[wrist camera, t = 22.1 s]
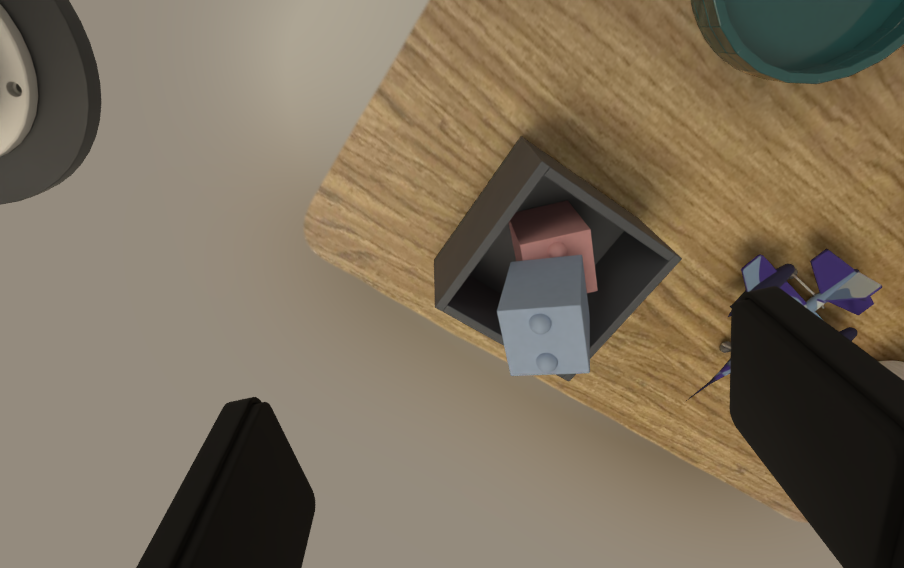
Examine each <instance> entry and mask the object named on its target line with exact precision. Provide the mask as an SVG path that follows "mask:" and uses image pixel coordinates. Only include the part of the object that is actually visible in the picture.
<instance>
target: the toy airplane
mask: <svg viewBox="0 0 904 568" xmlns="http://www.w3.org/2000/svg"><path fill="white" fill-rule="evenodd" d="M810 262H811V266H812V269H813V272H814V275H815V279H816V282H817V285H818V289H819V293H818V294H815V293H814V292H813V291H812V290H811V289H810V288H809V287H808V286H806V285H805V284H804V283H803V282H802V281H801V280H800V279H799V278H798V277H797V273H798V271H797V270H796V269H795V268H794V266H793V265H792V264H785V265H783V266H781V267H779V268H777V269H775V268H774V267H773V266H772V265H771V264H770V263H769V262H768V260H767V259H766V258H765V257H764V256H763V255H761V254H759V255H757V256H756V257H755V258H754V259H752V260H751V261H750V262H749V263H748V264H746V265H745V266H744V267H743V268H742V269H741V271H742V275H743V279H744V283H745V287H746V291H745V292H749V291H753V290H758V289H763V288H767V287H772V286H777V287H778V288H780V289H782V290H783V291H785V292H786V293H787V294H789V295H790V296H791V297H793V298H794V299H795V300H797V301H798V302H799V303H801V304H802V305H803V306H805V307H806V308H807V309H809V310H810V311H811V312H813V313H814V314H815V315H817V316H818V317H819V318H821V317H820V316H819V315H818V314H817V313H816V312H815V311H816V310H817V309H819V308H820V307H821V308H823V309H824V308H825V307H824V305H823V304H825V303H826V302H830V303H832V304H834V305H837V306H839V307H841V308H843V309H845V310H848V311H850V312H852V313H854V314H856V315H860V314H861V313H862V312H864V311H865V310H866V309H868V308H869V307H870V306H872V305H873V304H874V303H873V301H872V299H871V297H870V296H871V295H873V294H874V293H875V292H877V291H878V290H879V289H881V288H882V286H881V285H880V284H879V283H877V282H875V281H873V280H872V279H870V278H868V277H867V276H865V275H863V274H861V273H860V271H859V270H858V269H853V268H852V267H850V266H849V265H848V264H847V263H845V262H844V261H843V260H841V259H840V258H839V257H837V256H836V255H835V254H833V253H832V252H831V251H829V250H828V249H825V250H824V251H823V252H821V253H820V254H819V255H818V256H816V257H815V258H814V259H812V260H811V261H810ZM794 277H795V278H796V279H797V280H798V281H799V282H800V283H801V284H802V285H803V286H804V287H805V288H806V289H807V290H808V291H809V292H810V293H811V294H812V295H813V296H812V297H810V298H809V299H808V301H807V302H805V301H804V299H803V298H802V297H801V296H800V295H799V294H798V293H797V292H796V291H795V290H794V289H793V288H792V286H791V285H790V284H789V283H788V282H787V280H789V279H793V278H794ZM740 297H741V296H740ZM740 297H739V298H738V299H737V300H736V301H735V302H738V301H739V300H740ZM735 302H734V303H735ZM732 305H733V304H732ZM732 305H731V306H730V307H731V308H732ZM729 316H732V311H731V312H730V314H729ZM729 316H728V317H729ZM821 319H822V318H821ZM839 333H841V334H842V335H843V336H845V337H846V338H848V339H849V340H850V341H852V340H853V339H854V338H855V337H856V336H857V330H856V329H855V328H851V327H849V328H846V329H844V330H842V331H840V332H839ZM720 350H721V351H722V352H724V353H727V352H729V351H730V352H731V342H728V341H726V342H723V343H722V344H721V345H720ZM730 367H731V358H730V360H729V361H728V362H727V363H726V364H725V365H724V367H723V368H722V369H721V370H720V371H719V372H718V373H717V374H716V375H715V376H714V377H713V378H712V379H711V381H710V382H709V383H707V384H706V385H705V386H704V387H702V388H701V389H700V390H699V391H697V392H696V393H695V394H697V393H698V392H700V391H701V390H702V389H704V388H705V387H707V386H708V385H710V384H711V383H713V382H715V381H717V380H718V379H720V378H722V377H724V376H726V375H728V374H730ZM695 394H694V395H695ZM694 395H693V396H694ZM691 397H692V396H691ZM691 397H690V398H691ZM690 398H689V399H690ZM686 401H687V400H686Z"/></svg>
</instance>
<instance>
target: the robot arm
mask: <svg viewBox="0 0 904 568" xmlns="http://www.w3.org/2000/svg"><path fill="white" fill-rule="evenodd" d="M37 103H38V87H37V76H36V73H35V69H34V65H33V62H32V58H31V55H30V53H29V51H28V48H27V46H26V44H25V42H24V40H23V37H22V35H21V33H20V32H19V30H18V29H17V27H16V25H15V24H14V22H13V21H12V19H11V18H10V16H9V15H8V13H7V12H6V10H5V9H4V8H3V7H2V6H1V5H0V157H1V156H3V155H5V154H8V153H9V152H11V151H12V150H13V149H14V148H16V147H17V146H18V145H19V144H20V143H21V142H22V141H23V140H24V138H25V137H26V135H27V134H28V133H29V131H30V130H31V127H32V124H33V122H34V119H35V116H36V112H37ZM730 414H731V417H732V420H733V422H734V424H735V426H736V428H737V429H738V430H739V432H740V433H741V434H742V436H743V437H744V438H745V440H746V441H747V442H748V444H749V445H750V446H751V448H752V449H753V450H754V451H755V453H756V454H757V455H758V457H759V458H760V459H761V461H762V462H763V463H764V465H765V466H766V467H767V468H768V470H769V471H770V472H771V474H772V475H773V476H774V478H775V479H776V480H777V482H778V483H779V484H780V485H781V487H782V488H783V489H784V491H785V492H786V493H787V495H788V496H789V497H790V499H791V500H792V501H793V502H794V504H795V505H796V506H797V508H798V509H799V510H800V512H801V513H802V514H803V516H804V517H805V518H806V519H807V521H808V522H809V523H810V525H811V526H812V527H813V528H814V530H815V531H816V533H817V534H818V535H819V536H820V538H821V539H822V540H823V542H824V543H825V544H826V546H827V547H828V548H829V550H830V551H831V552H832V553H833V555H834V556H835V557H836V559H837V560H838V561H839V563H840V564H841V565H842V566H843V568H904V380H902V379H901V378H900V377H898V376H897V375H896V374H894V373H893V372H892V371H890V370H889V369H888V368H886V367H885V366H884V365H882V364H881V363H880V362H878V361H877V360H876V359H874V358H873V357H872V356H870V355H869V354H868V353H866V352H865V351H864V350H862V349H861V348H860V347H858V346H857V345H856V344H854V343H853V342H852V341H850V340H849V339H848V338H846V337H845V336H843V335H842V334H841V333H839V332H838V331H837V330H835V329H834V328H833V327H831V326H830V325H829V324H827V323H826V322H825V321H823V320H822V319H821V318H819V317H818V316H817V315H815V314H814V313H813V312H811V311H810V310H809V309H807V308H806V307H805V306H803V305H802V304H801V303H799V302H798V301H797V300H795V299H794V298H793V297H791V296H790V295H789V294H787V293H786V292H785V291H783V290H782V289H780V288H778V287H777V286H772V287H767V288H763V289H758V290H753V291H749V292H744V293H743V294H742V295H741V297H740V300H739V301H738V302H735V303H733V305H732V317H731V367H730ZM314 512H315V497H314V493H313V490H312V488H311V486H310V484H309V482H308V480H307V478H306V476H305V474H304V472H303V470H302V468H301V466H300V464H299V463H298V460H297V458H296V456H295V454H294V452H293V450H292V448H291V446H290V444H289V442H288V440H287V438H286V436H285V434H284V432H283V430H282V428H281V426H280V424H279V422H278V420H277V418H276V416H275V414H274V412H273V410H272V408H271V406H270V405H269V404H268V403H267V402H261V401H260V400H259V399H258V398H256V397H252V398H247V399H242V400H238V401H233V402H229V403H227V404H225V406H224V407H223V409H222V411H221V412H220V414H219V416H218V418H217V420H216V422H215V423H214V425H213V428H212V429H211V431H210V433H209V435H208V437H207V438H206V440H205V442H204V444H203V446H202V447H201V449H200V451H199V453H198V455H197V457H196V459H195V461H194V462H193V464H192V466H191V468H190V470H189V471H188V473H187V475H186V477H185V479H184V481H183V483H182V484H181V486H180V488H179V490H178V492H177V494H176V496H175V498H174V499H173V501H172V503H171V505H170V507H169V509H168V510H167V512H166V514H165V516H164V518H163V520H162V521H161V523H160V525H159V527H158V529H157V531H156V533H155V534H154V536H153V538H152V540H151V542H150V543H149V545H148V547H147V549H146V551H145V553H144V555H143V556H142V558H141V560H140V562H139V564H138V566H137V567H136V568H301V567H302V562H303V558H304V554H305V550H306V546H307V541H308V537H309V533H310V529H311V525H312V520H313V516H314Z"/></svg>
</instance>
